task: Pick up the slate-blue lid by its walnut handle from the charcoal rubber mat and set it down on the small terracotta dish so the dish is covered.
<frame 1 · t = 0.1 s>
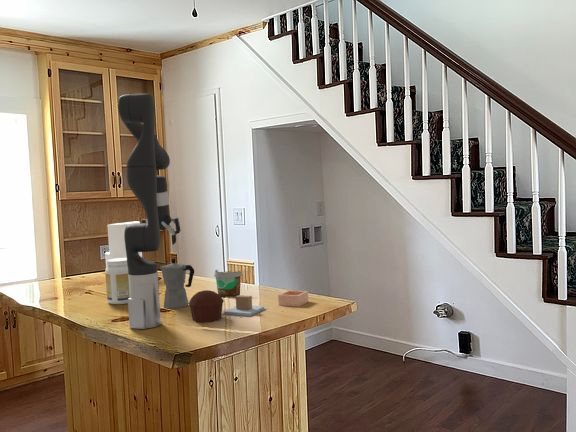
hand: (162, 244, 214), 22 cm above the table, tool pointing down, fingers open, 8 cm apart
muffin: (207, 322, 181), on the table
coffeepot: (178, 306, 206), on the table
supplement tub: (123, 302, 219), on the table
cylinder: (125, 280, 271), on the table
lid: (244, 311, 188), point 1 cm above the table, touching mat
dish: (293, 305, 198), on the table
food container: (225, 296, 220), on the table
mat: (244, 314, 188), on the table
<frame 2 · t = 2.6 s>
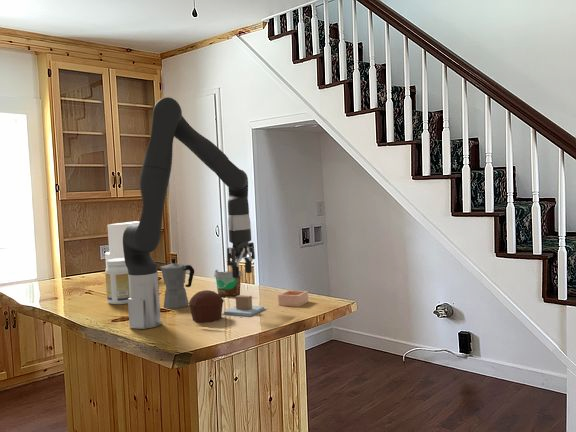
hand: (242, 275, 188), 13 cm above the table, tool pointing down, fingers open, 8 cm apart
nothing on the table moved.
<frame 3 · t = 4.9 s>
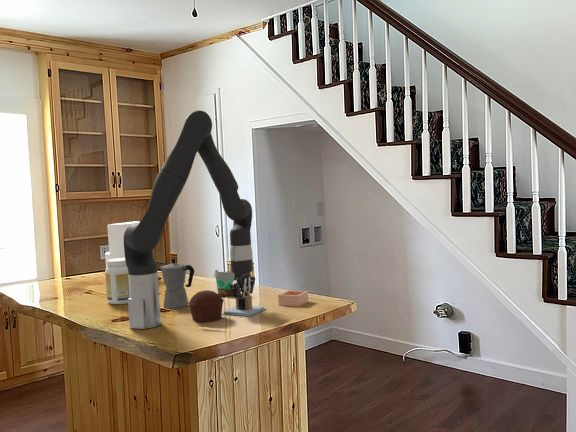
hand: (244, 308, 188), 2 cm above the table, tool pointing down, fingers closed on lid
lid: (244, 311, 188), point 1 cm above the table, touching gripper
everything else where it was.
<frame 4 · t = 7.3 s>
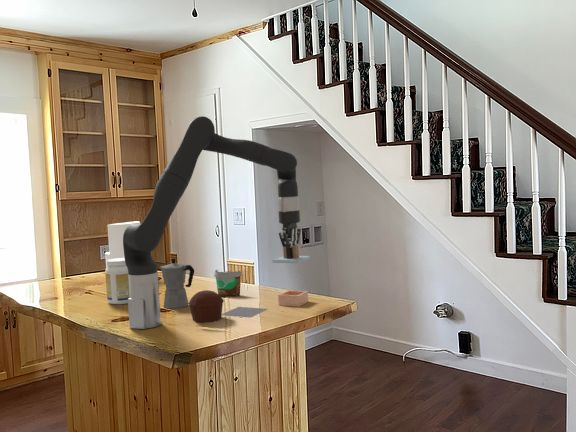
hand: (291, 257, 197), 17 cm above the table, tool pointing down, fingers closed on lid
lid: (291, 260, 197), point 16 cm above the table, touching gripper
everything else where it was.
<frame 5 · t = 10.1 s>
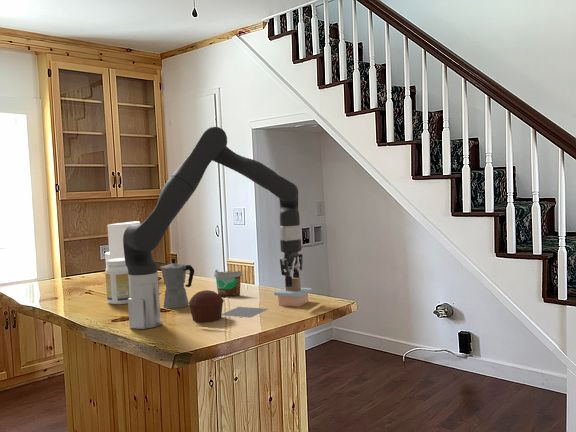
hand: (292, 284, 197), 8 cm above the table, tool pointing down, fingers open, 5 cm apart
lid: (293, 293, 198), point 4 cm above the table, touching dish
everything else where it was.
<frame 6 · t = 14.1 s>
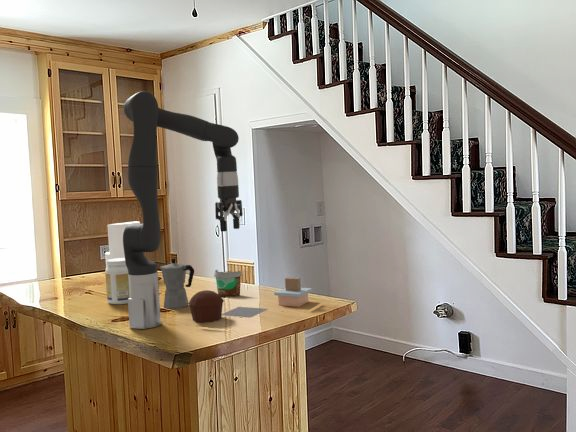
hand: (230, 230, 198), 28 cm above the table, tool pointing down, fingers open, 8 cm apart
nothing on the table moved.
at the end: lid 0.0 cm off-centre on the dish, point 4.5 cm above the dish's base; lid tilted 0°; the gripper is holding nothing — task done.
